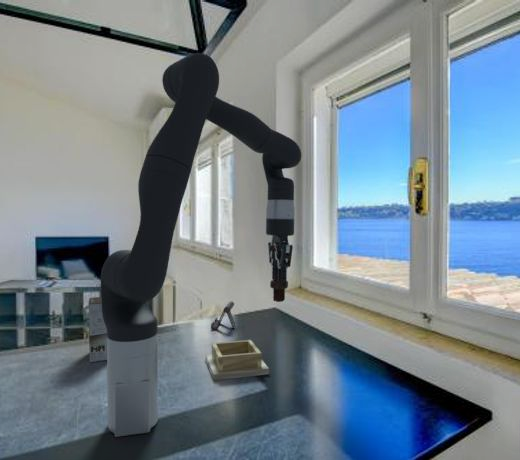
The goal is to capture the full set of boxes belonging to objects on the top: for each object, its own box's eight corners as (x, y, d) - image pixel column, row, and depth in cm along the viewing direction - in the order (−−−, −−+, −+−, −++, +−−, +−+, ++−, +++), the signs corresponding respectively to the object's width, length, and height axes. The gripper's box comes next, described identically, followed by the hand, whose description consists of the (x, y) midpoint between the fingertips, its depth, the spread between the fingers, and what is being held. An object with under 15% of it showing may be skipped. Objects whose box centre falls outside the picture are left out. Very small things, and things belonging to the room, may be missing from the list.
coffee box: (114, 359, 108) (113, 301, 108) (89, 362, 106) (88, 303, 105) (112, 348, 117) (112, 295, 116) (89, 351, 114) (88, 297, 113)
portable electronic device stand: (216, 323, 145) (216, 300, 145) (237, 323, 144) (237, 301, 144) (210, 330, 136) (210, 306, 136) (233, 331, 135) (233, 307, 135)
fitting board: (268, 374, 99) (268, 354, 98) (213, 380, 95) (213, 360, 95) (254, 354, 112) (254, 337, 112) (205, 359, 108) (205, 341, 108)
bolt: (293, 301, 105) (294, 245, 104) (281, 304, 101) (282, 245, 101) (276, 298, 109) (277, 244, 108) (264, 300, 105) (265, 244, 105)
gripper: (303, 217, 98) (302, 285, 99) (284, 217, 112) (283, 277, 112) (274, 217, 96) (273, 286, 97) (259, 217, 110) (258, 277, 110)
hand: (279, 281), depth 105 cm, fingers closed on bolt, 4 cm apart
